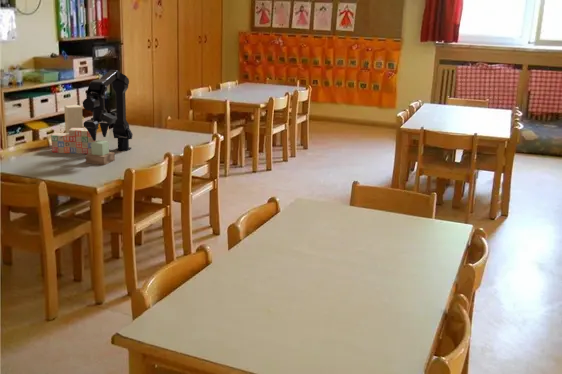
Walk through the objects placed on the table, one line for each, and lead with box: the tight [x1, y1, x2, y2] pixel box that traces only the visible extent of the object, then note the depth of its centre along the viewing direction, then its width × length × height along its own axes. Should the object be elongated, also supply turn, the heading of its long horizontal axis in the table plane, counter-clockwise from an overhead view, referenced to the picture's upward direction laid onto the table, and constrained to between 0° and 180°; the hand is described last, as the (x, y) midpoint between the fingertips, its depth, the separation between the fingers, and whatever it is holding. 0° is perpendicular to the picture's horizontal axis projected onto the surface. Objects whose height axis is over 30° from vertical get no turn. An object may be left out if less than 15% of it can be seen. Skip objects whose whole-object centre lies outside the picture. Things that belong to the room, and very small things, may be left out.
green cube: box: [91, 139, 110, 156], centre depth 298 cm, size 6×6×6 cm
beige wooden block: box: [63, 104, 84, 133], centre depth 328 cm, size 8×7×21 cm
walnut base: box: [85, 151, 116, 166], centre depth 300 cm, size 10×10×4 cm
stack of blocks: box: [50, 127, 94, 155], centre depth 314 cm, size 21×6×12 cm, turn 95°
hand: (99, 138), depth 297 cm, fingers open, 9 cm apart
